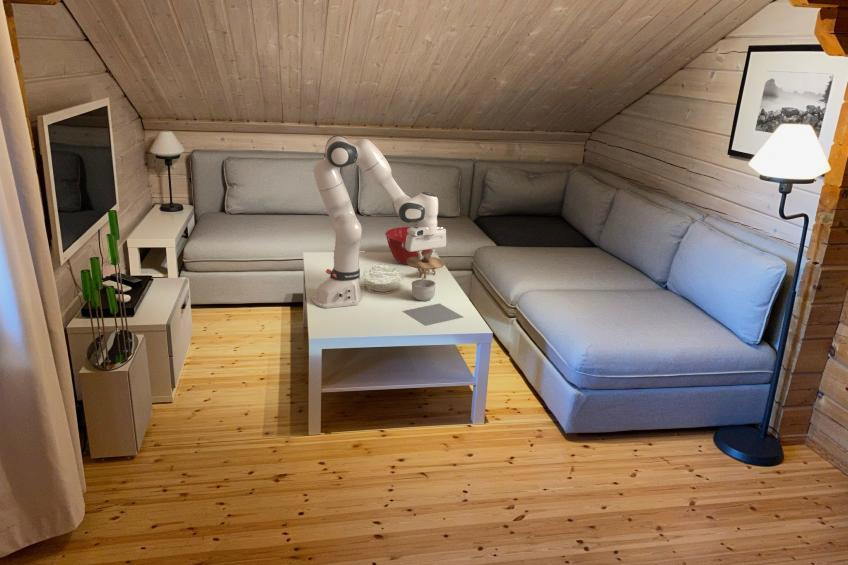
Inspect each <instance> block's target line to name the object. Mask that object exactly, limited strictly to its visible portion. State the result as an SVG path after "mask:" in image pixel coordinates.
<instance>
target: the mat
mask: <svg viewBox="0 0 848 565" xmlns="http://www.w3.org/2000/svg"><path fill="white" fill-rule="evenodd" d="M402 312H403V313H404V314H406V315H407V316H409V317H411V319H414V320H416V321H417V322H418V323H420V324H421V325H423V326H425V327H426V326H431V325H434V324H435V325H436V324H439V323H444V322H451V321H454V320H458V319H462V318H464V316H463V315H461V314H460V313H457V312H455V311H454V310H452V309H451V308H449V307H447V306H445V305H443V304H442V303H436V304H431V305H430V304H429V305H424V306H421V307H415V308H410V309H406V310H402Z"/></svg>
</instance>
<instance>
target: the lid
mask: <svg viewBox="0 0 848 565" xmlns="http://www.w3.org/2000/svg"><path fill="white" fill-rule="evenodd" d="M422 255H423V256H424V257H423V259H422V260H420V259H419V256H415V257H411V258H408V259H407V262H406V263H407V264H408V265H407V266H409V267H411V268H415V269H417V270H418V269H430V270H432V269H435V270H438V269H440V268H443V267H444V266H445V262H444V260H443V259H441V258H438V257H435V256H432V258H430V253H429V252H422Z"/></svg>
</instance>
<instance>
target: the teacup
mask: <svg viewBox="0 0 848 565" xmlns="http://www.w3.org/2000/svg"><path fill="white" fill-rule="evenodd" d="M411 293H412V297H413V298H414V299H416V300H417V301H421V302H428V301H430V300H432V299H433V298H434V297H435V294H436V282H435V281H433V280H432V279H427V278H426V279H425V278H424V277H423V278H422V277H421V278H419V279H416V280H413V281H412V282H411Z"/></svg>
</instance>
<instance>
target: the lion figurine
mask: <svg viewBox="0 0 848 565" xmlns="http://www.w3.org/2000/svg"><path fill="white" fill-rule="evenodd" d="M430 270H431V271H432V275H434V276H435V275H436V269H418V268H417V271H418V273H419V276H418V278H419V279H422V276H423V278H425V279H426V280H427V276H428V275H429V273H430Z"/></svg>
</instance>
